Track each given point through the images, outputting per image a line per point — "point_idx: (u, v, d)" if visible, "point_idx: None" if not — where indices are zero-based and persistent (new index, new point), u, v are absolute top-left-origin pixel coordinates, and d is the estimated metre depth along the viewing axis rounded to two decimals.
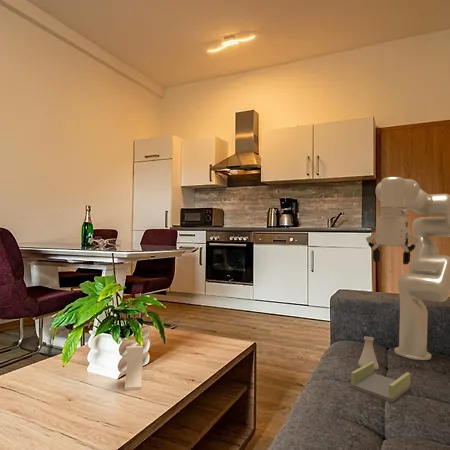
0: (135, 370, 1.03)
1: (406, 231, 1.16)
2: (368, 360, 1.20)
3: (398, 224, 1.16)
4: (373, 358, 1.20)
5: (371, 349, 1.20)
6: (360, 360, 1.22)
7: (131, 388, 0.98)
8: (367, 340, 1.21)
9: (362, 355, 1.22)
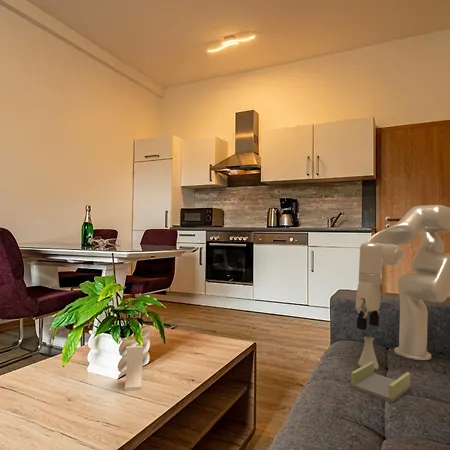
0: (135, 370, 1.03)
1: None
2: (368, 360, 1.20)
3: (379, 290, 1.23)
4: (373, 358, 1.20)
5: (371, 349, 1.20)
6: (360, 360, 1.22)
7: (131, 388, 0.98)
8: (367, 340, 1.21)
9: (362, 355, 1.22)
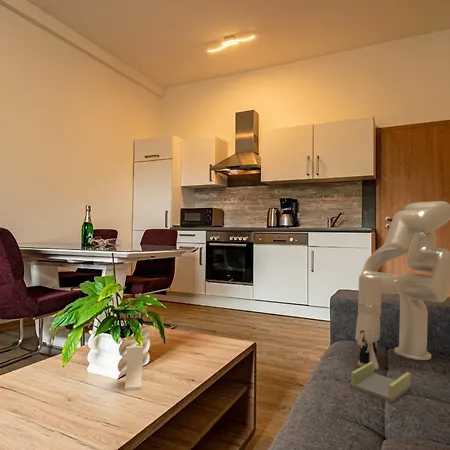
0: (135, 370, 1.03)
1: None
2: None
3: (379, 320, 1.23)
4: (373, 358, 1.20)
5: (371, 349, 1.21)
6: None
7: (131, 388, 0.98)
8: None
9: None
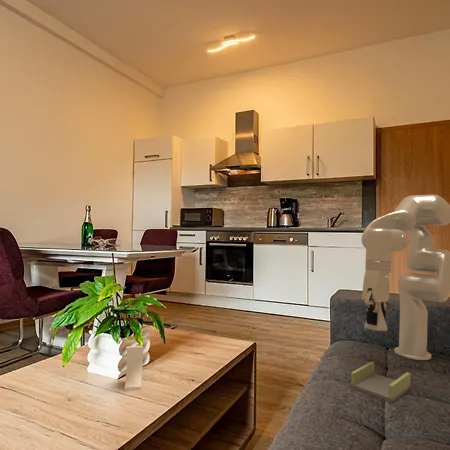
0: (135, 370, 1.03)
1: None
2: None
3: (388, 279, 1.12)
4: (381, 319, 1.09)
5: (379, 309, 1.10)
6: None
7: (131, 388, 0.98)
8: None
9: None
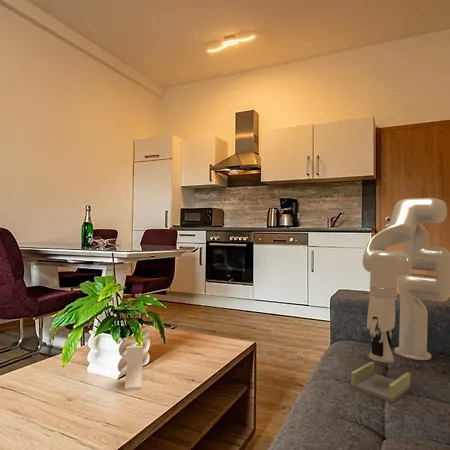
0: (135, 370, 1.03)
1: None
2: None
3: (394, 306, 1.06)
4: (387, 349, 1.03)
5: (385, 338, 1.04)
6: None
7: (131, 388, 0.98)
8: None
9: None
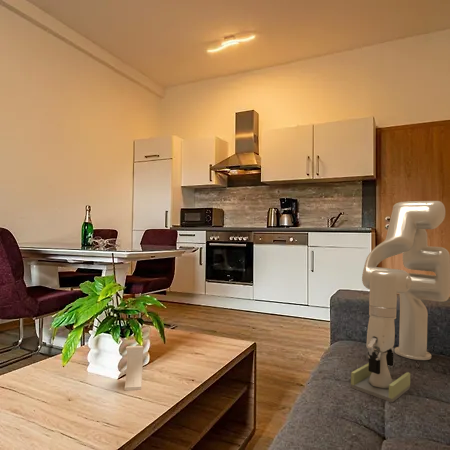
0: (135, 370, 1.03)
1: None
2: (381, 377, 1.03)
3: (393, 324, 1.06)
4: (387, 375, 1.03)
5: (384, 364, 1.04)
6: (371, 377, 1.05)
7: (131, 388, 0.98)
8: None
9: None
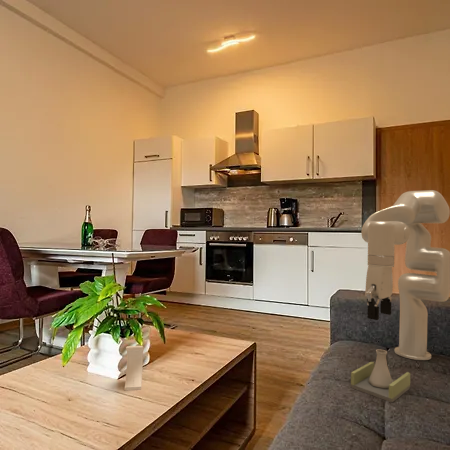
0: (135, 370, 1.03)
1: None
2: (381, 377, 1.03)
3: (391, 273, 1.08)
4: (387, 375, 1.03)
5: (384, 364, 1.04)
6: (371, 377, 1.05)
7: (131, 388, 0.98)
8: (380, 354, 1.04)
9: (374, 371, 1.05)
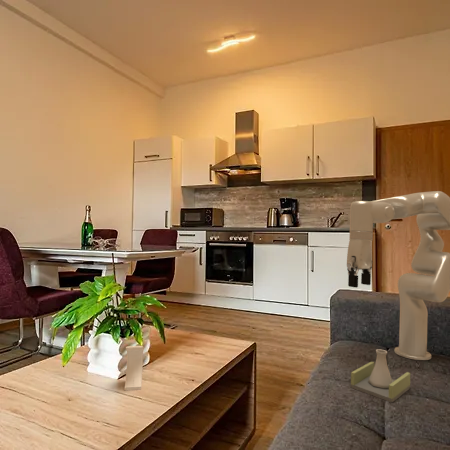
0: (135, 370, 1.03)
1: None
2: (381, 377, 1.03)
3: (370, 248, 1.22)
4: (387, 375, 1.03)
5: (384, 364, 1.04)
6: (371, 377, 1.05)
7: (131, 388, 0.98)
8: (380, 354, 1.04)
9: (374, 371, 1.05)
